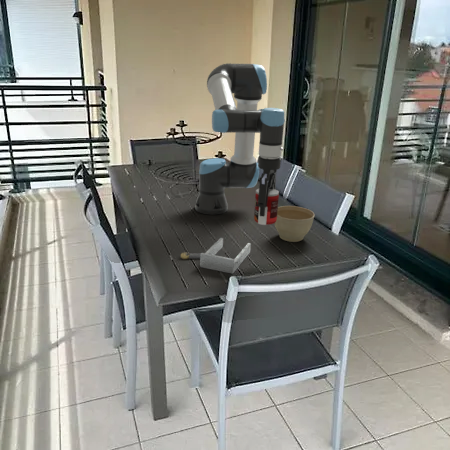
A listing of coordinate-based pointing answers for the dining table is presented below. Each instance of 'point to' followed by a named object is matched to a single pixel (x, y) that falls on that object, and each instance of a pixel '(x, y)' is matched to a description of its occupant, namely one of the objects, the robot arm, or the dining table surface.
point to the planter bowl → (293, 222)
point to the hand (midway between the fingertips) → (265, 219)
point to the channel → (222, 258)
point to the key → (190, 255)
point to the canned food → (268, 206)
